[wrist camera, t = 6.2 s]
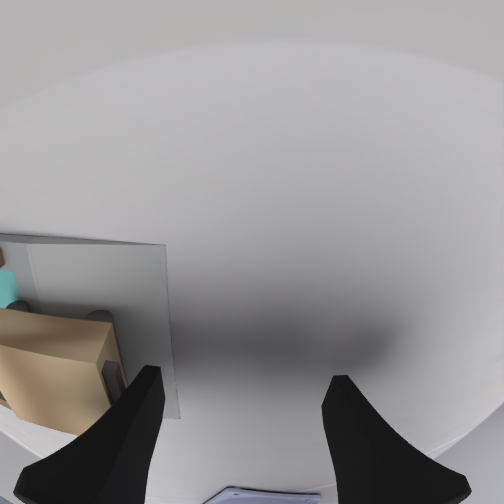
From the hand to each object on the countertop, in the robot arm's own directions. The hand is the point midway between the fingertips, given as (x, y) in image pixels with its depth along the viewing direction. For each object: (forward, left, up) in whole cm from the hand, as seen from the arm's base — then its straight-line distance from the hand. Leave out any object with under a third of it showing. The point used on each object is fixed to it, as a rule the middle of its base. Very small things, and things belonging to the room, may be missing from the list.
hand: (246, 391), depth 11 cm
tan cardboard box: (+8, +3, -1) cm, 8 cm away
